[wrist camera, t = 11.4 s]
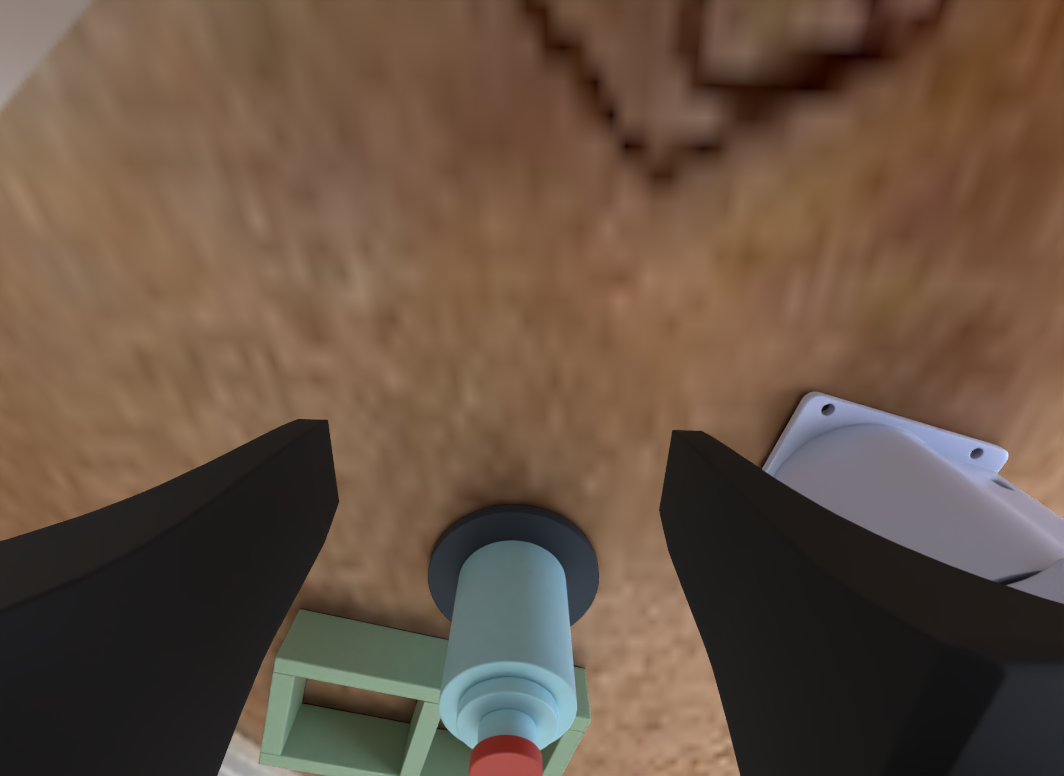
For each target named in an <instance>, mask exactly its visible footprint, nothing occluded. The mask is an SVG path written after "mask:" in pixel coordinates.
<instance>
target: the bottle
mask: <svg viewBox="0 0 1064 776" xmlns="http://www.w3.org/2000/svg"><path fill="white" fill-rule="evenodd" d="M576 711H577V699H576V688H575V677H574V665H573V654H572V643H571V632H570V621H569V609H568V598H567V587H566V578H565V573H564V570H563V568H562V566H561V564H560V563H559V561H558V560H557V559H556V558H555V557H554V556H553V555H552V554H551V553H550V552H548V551H547V550H545V549H544V548H542V547H540V546H538V545H535V544H532V543H529V542H524V541H515V540H509V541H499V542H495V543H491V544H489V545H486V546H484V547H482V548H480V549H478V550H477V551H475V552H474V553H473V554H472V555H471V556H470V557H469V558H468V559H467V560H466V561H465V563H464V564H463V566H462V568H461V571H460V574H459V579H458V586H457V592H456V598H455V604H454V610H453V616H452V623H451V629H450V635H449V641H448V647H447V654H446V660H445V666H444V672H443V678H442V684H441V691H440V697H439V713H440V717H441V719H442V721H443V723H444V725H445V727H446V728H447V729H448V730H449V731H450V732H451V733H452V734H453V735H454V736H455V737H456V738H458V739H459V740H461V741H463V742H464V743H465V744H466V745H467V746H469V747H470V748H472V749H473V750H472V752H471V754H470V762H469V772H468V774H469V776H542V775H543V770H542V754H541V752H540V750H542V749H543V748H545V747H546V746H547V745H548V744H550V743H552V742H554V741H555V740H557V739H558V738H560V737H561V736H562V735H563V734H564V733H565V732H566V731H567V730H568V729H569V728H570V726H571V725H572V723H573V721H574V718H575V716H576Z"/></svg>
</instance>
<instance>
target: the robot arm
mask: <svg viewBox="0 0 1064 776" xmlns="http://www.w3.org/2000/svg"><path fill="white" fill-rule="evenodd" d="M827 404H830V405H829V407H828V408H827V410H825V411H821V410H822V408H823V407H824V405H827ZM974 449H975V450H974ZM973 450H974V451H973ZM972 451H973V452H972ZM971 452H972V453H971ZM1007 459H1008V452H1007V451H1006V450H1004V449H1003V448H1001V447H1000V446H998V445H995V444H991V443H988V442H985V441H981V440H978V439H975V438H971V437H968V436H965V435H961V434H958V433H955V432H951V431H948V430H945V429H941V428H938V427H934V426H931V425H928V424H924V423H921V422H918V421H914V420H911V419H908V418H904V417H901V416H898V415H894V414H891V413H888V412H884V411H881V410H878V409H874V408H871V407H868V406H864V405H861V404H858V403H854V402H851V401H847V400H844V399H841V398H837V397H834V396H831V395H827V394H824V393H821V392H810V393H808V394H807V395H805V396H804V397H803V398H802V400H801V401H800V403H799V405H798V407H797V408H796V410H795V412H794V414H793V415H792V417H791V419H790V421H789V422H788V424H787V426H786V428H785V429H784V431H783V433H782V435H781V436H780V438H779V440H778V442H777V444H776V445H775V447H774V449H773V451H772V452H771V454H770V456H769V458H768V459H767V461H766V463H765V465H764V466H763V468H762V469H760V468H759V467H757V466H756V465H754V464H753V463H751V462H750V461H748V460H747V459H745V458H744V457H742V456H741V455H739V454H738V453H736V452H735V451H733V450H732V449H730V448H729V447H727V446H726V445H724V444H723V443H721V442H720V441H718V440H717V439H715V438H713V437H712V436H710V435H708V434H706V433H704V432H703V431H686V430H672V436H671V442H670V448H669V454H668V460H667V466H666V472H665V478H664V484H663V491H662V497H661V503H660V509H659V511H660V516H661V520H662V525H663V530H664V534H665V538H666V542H667V547H668V551H669V554H670V556H671V559H672V562H673V565H674V567H675V570H676V572H677V575H678V578H679V580H680V583H681V586H682V588H683V591H684V593H685V596H686V599H687V601H688V604H689V606H690V609H691V612H692V614H693V617H694V619H695V622H696V625H697V627H698V630H699V632H700V635H701V637H702V640H703V643H704V645H705V648H706V651H707V654H708V657H709V660H710V663H711V666H712V669H713V672H714V676H715V679H716V683H717V687H718V690H719V694H720V698H721V701H722V705H723V709H724V712H725V716H726V720H727V724H728V728H729V732H730V736H731V740H732V744H733V748H734V752H735V756H736V760H737V764H738V768H739V772H740V776H1064V519H1063V518H1062V517H1060V516H1059V515H1057V514H1056V513H1054V512H1053V511H1051V510H1050V509H1048V508H1047V507H1045V506H1044V505H1043V504H1041V503H1040V502H1038V501H1037V500H1035V499H1034V498H1032V497H1031V496H1029V495H1028V494H1026V493H1025V492H1024V491H1022V490H1021V489H1019V488H1018V487H1016V486H1015V485H1013V484H1012V483H1010V482H1009V481H1007V480H1006V479H1005V478H1003V477H1002V476H1000V475H999V474H997V473H998V471H999V470H1000V469H1001V468H1002V466H1003V465H1004V464H1005V463H1006V461H1007ZM338 503H339V498H338V491H337V483H336V476H335V469H334V461H333V454H332V447H331V439H330V432H329V425H328V420H311V419H297V420H295V421H292V422H289V423H287V424H285V425H282V426H280V427H278V428H276V429H274V430H272V431H270V432H268V433H266V434H264V435H262V436H260V437H258V438H256V439H254V440H252V441H250V442H248V443H246V444H244V445H242V446H240V447H238V448H236V449H234V450H232V451H230V452H228V453H226V454H224V455H222V456H220V457H218V458H216V459H214V460H212V461H210V462H208V463H206V464H204V465H202V466H200V467H197V468H195V469H193V470H191V471H189V472H187V473H185V474H182V475H180V476H178V477H176V478H174V479H172V480H170V481H167V482H165V483H163V484H161V485H159V486H156V487H154V488H152V489H149V490H147V491H145V492H142V493H140V494H137V495H135V496H132V497H130V498H127V499H125V500H122V501H120V502H117V503H114V504H112V505H109V506H106V507H104V508H101V509H99V510H96V511H93V512H90V513H88V514H85V515H82V516H79V517H76V518H73V519H70V520H67V521H63V522H60V523H57V524H54V525H51V526H48V527H45V528H42V529H39V530H35V531H32V532H29V533H26V534H23V535H20V536H17V537H14V538H10V539H7V540H4V541H0V776H217V775H218V772H219V770H220V767H221V764H222V762H223V759H224V756H225V754H226V751H227V749H228V746H229V743H230V741H231V738H232V736H233V733H234V730H235V728H236V725H237V722H238V720H239V717H240V715H241V712H242V710H243V707H244V705H245V702H246V700H247V698H248V695H249V693H250V690H251V688H252V685H253V683H254V681H255V678H256V676H257V673H258V671H259V668H260V666H261V664H262V661H263V659H264V657H265V655H266V653H267V651H268V649H269V647H270V645H271V643H272V640H273V638H274V637H275V635H276V633H277V631H278V629H279V627H280V625H281V624H282V622H283V620H284V618H285V616H286V614H287V612H288V610H289V609H290V607H291V605H292V603H293V601H294V599H295V597H296V596H297V594H298V592H299V590H300V588H301V586H302V584H303V583H304V581H305V579H306V577H307V575H308V573H309V571H310V569H311V568H312V566H313V564H314V562H315V560H316V558H317V556H318V554H319V552H320V550H321V548H322V546H323V544H324V542H325V540H326V537H327V534H328V532H329V529H330V526H331V524H332V521H333V518H334V515H335V512H336V509H337V506H338Z"/></svg>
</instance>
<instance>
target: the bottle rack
mask: <svg viewBox="0 0 1064 776" xmlns="http://www.w3.org/2000/svg"><path fill="white" fill-rule="evenodd" d="M448 641H449V640H446V639H441V638H436V637H431V636H426V635H422V634H417V633H412V632H407V631H403V630H398V629H393V628H388V627H384V626H379V625H374V624H369V623H365V622H360V621H355V620H350V619H346V618H341V617H336V616H331V615H327V614H322V613H317V612H312V611H308V610H303V609H300V610H299V611H298V613H297V615H296V617H295V619H294V621H293V623H292V625H291V627H290V629H289V631H288V633H287V635H286V637H285V639H284V641H283V643H282V645H281V647H280V649H279V651H278V653H277V655H276V657H275V663H274V669H273V675H272V681H271V688H270V694H269V700H268V707H267V713H266V720H265V726H264V732H263V739H262V745H261V752H260V758H259V764H262V765H268V766H273V767H279V768H285V769H291V770H297V771H303V772H308V773H314V774H320V775H326V776H469V774H468V772H469V762H470V754H471V752H472V750H473V749H472V748H470V747H469V746H467V745H466V744H465V743H464V742H463V741H461V740H459V739H458V738H456V737H455V736H454V735H453V734H452V733H451V732H450V731H447V730H442V729H437V726H438V723H439V721H440V718H441V717H440V713H439V697H440V691H441V684H442V678H443V672H444V666H445V660H446V654H447V647H448ZM574 677H575V688H576V699H577V711H576V716H575V718H574V721H573V723H572V725H571V726H570V728H569V729H568V730H567V731H566V732H565V733H564V734H563V735H562V736H561V737H560V738H558V739H557V740H555V741H554V742H552V743H550V744H548V745H547V746H546V747H545V748H543V749H542V750H540V752H541V754H542V770H543V775H542V776H561V775H562V773H563V771H564V770H565V768H566V766H567V764H568V762H569V760H570V758H571V757H572V755H573V753H574V751H575V749H576V747H577V745H578V744H579V742H580V740H581V738H582V736H583V734H584V731H585V730H586V728H587V726H588V725H589V723H590V721H591V715H590V706H589V697H588V688H587V679H586V670H585V669H583V668H579V667H574ZM307 678H309V679H314V680H319V681H324V682H330V683H335V684H340V685H345V686H350V687H355V688H360V689H366V690H371V691H376V692H381V693H386V694H391V695H396V696H402V697H407V698H412V699H417V700H418V701H417V704H416V707H415V710H414V713H413V716H412V719H411V722H410V723H404V722H399V721H394V720H388V719H383V718H378V717H372V716H367V715H362V714H356V713H351V712H346V711H340V710H335V709H330V708H324V707H319V706H314V705H308V704H303V703H302V700H303V695H304V690H305V684H306V679H307Z"/></svg>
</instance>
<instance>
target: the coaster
mask: <svg viewBox="0 0 1064 776" xmlns="http://www.w3.org/2000/svg"><path fill="white" fill-rule="evenodd" d="M509 540H515V541H524V542H529V543H532V544H535V545H538V546H540V547H542V548H544V549H545V550H547V551H548V552H550V553H551V554H552V555H553V556H554V557H555V558H556V559H557V560H558V561H559V563H560V564H561V566H562V568H563V570H564V573H565V578H566V587H567V598H568V609H569V621H570V626H572V625H573V624H574V623H576V622H577V621H578V620H579V619H580V618H581V617H582V616H583V615H584V614H585V613H586V611H587V610H588V609H589V607H590V606H591V604H592V602H593V600H594V598H595V595H596V593H597V589H598V584H599V572H598V565H597V559H596V556H595V553H594V550H593V548H592V546H591V544H590V542H589V541H588V539H587V538H586V537H585V535H584V534H583V533H582V532H581V531H580V530H579V529H578V528H577V527H576V526H575V525H573V524H572V523H571V522H570V521H568V520H567V519H565V518H563V517H561V516H560V515H558V514H555V513H553V512H551V511H548V510H545V509H541V508H538V507H533V506H527V505H500V506H493V507H489V508H485V509H481V510H479V511H476V512H473V513H471V514H469V515H467V516H465V517H463V518H461V519H460V520H459V521H457V522H456V523H454V524H453V525H452V526H451V527H450V528H449V529H448V530H446V531H445V533H444V534H443V535H442V536H441V538H440V539H439V541H438V542H437V544H436V546H435V548H434V550H433V553H432V556H431V560H430V565H429V570H428V583H429V589H430V592H431V595H432V598H433V600H434V602H435V604H436V605H437V607H438V608H439V609H440V611H441V612H442V613H443V614H444V615H445V616H446V618H447V619H449V620H450V621H451V622H452V616H453V610H454V604H455V598H456V592H457V586H458V579H459V574H460V571H461V568H462V566H463V564H464V563H465V561H466V560H467V559H468V558H469V557H470V556H471V555H472V554H473V553H474V552H475V551H477V550H478V549H480V548H482V547H484V546H486V545H489V544H491V543H495V542H499V541H509Z"/></svg>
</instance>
